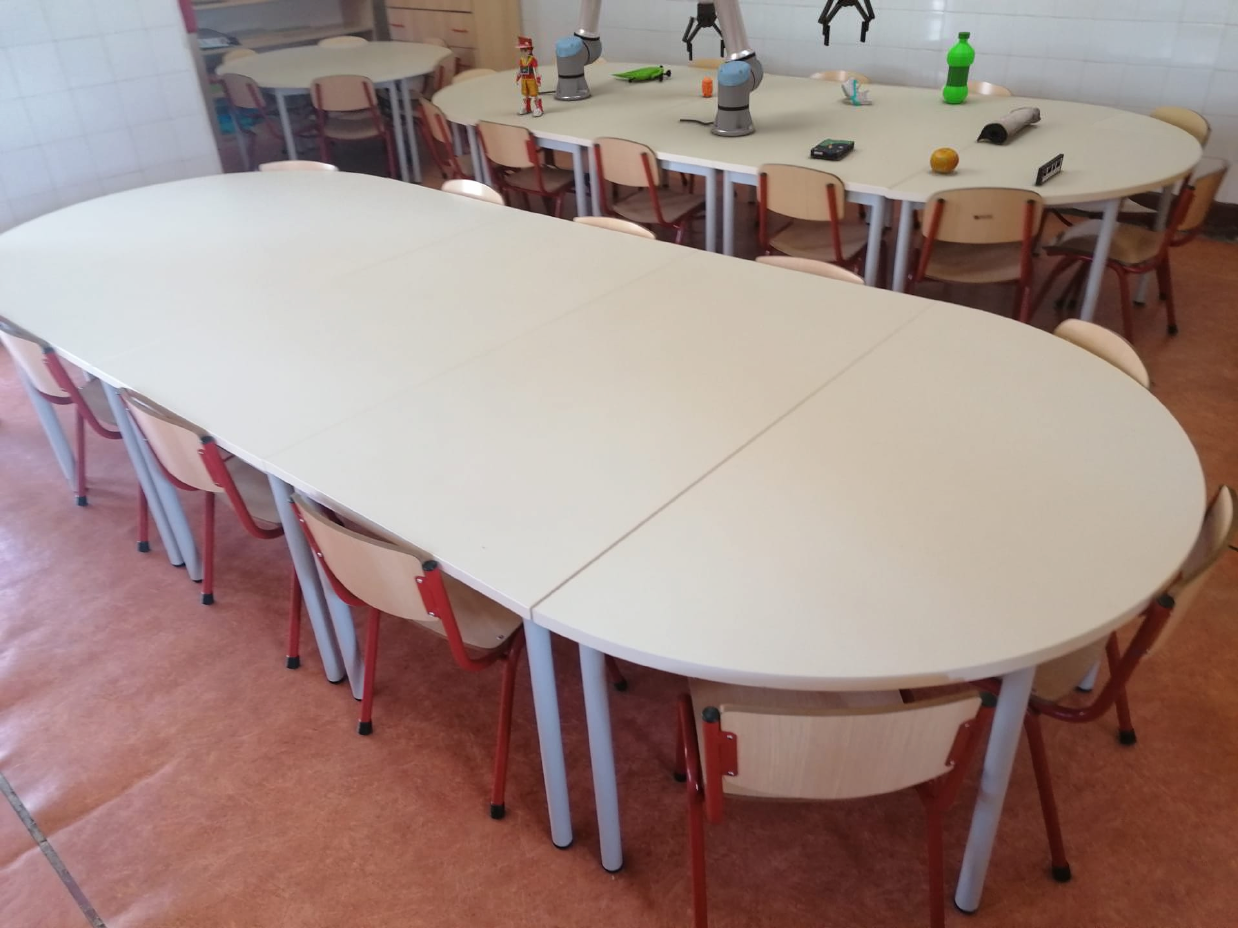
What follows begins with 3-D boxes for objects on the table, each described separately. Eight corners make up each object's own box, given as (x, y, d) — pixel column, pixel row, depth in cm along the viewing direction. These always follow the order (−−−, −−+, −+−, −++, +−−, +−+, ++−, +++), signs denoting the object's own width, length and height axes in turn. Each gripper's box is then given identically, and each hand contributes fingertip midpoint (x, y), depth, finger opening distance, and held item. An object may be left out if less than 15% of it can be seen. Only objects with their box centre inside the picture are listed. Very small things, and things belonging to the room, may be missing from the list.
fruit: (924, 163, 281) (941, 140, 278) (925, 165, 289) (941, 143, 286) (946, 178, 280) (963, 155, 277) (947, 180, 288) (963, 158, 285)
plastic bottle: (973, 101, 354) (984, 32, 339) (955, 106, 349) (966, 36, 335) (952, 97, 361) (962, 29, 346) (934, 102, 356) (944, 33, 342)
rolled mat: (1008, 112, 326) (1032, 94, 318) (1022, 133, 327) (1046, 116, 319) (972, 135, 309) (997, 117, 301) (987, 157, 310) (1012, 140, 301)
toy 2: (680, 71, 422) (628, 71, 438) (679, 59, 419) (627, 60, 435) (647, 89, 405) (595, 88, 421) (646, 77, 402) (593, 76, 418)
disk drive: (838, 161, 299) (854, 149, 309) (839, 153, 298) (855, 140, 308) (809, 158, 304) (825, 146, 314) (810, 149, 302) (826, 137, 313)
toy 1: (513, 115, 373) (504, 37, 356) (523, 110, 380) (514, 33, 363) (539, 117, 369) (531, 37, 352) (548, 111, 376) (541, 33, 359)
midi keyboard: (1039, 185, 269) (1043, 168, 266) (1035, 184, 270) (1038, 168, 267) (1060, 170, 279) (1064, 154, 277) (1056, 169, 280) (1060, 153, 277)
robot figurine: (714, 97, 382) (714, 77, 377) (704, 99, 381) (704, 78, 377) (710, 94, 387) (710, 74, 383) (700, 95, 387) (700, 75, 382)
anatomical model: (836, 76, 365) (861, 69, 364) (839, 102, 371) (863, 95, 370) (847, 84, 352) (872, 77, 352) (849, 111, 358) (874, 104, 358)
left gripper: (733, -2, 368) (732, 54, 380) (674, 4, 365) (675, 60, 377) (738, 0, 362) (737, 57, 374) (678, 6, 359) (679, 63, 371)
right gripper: (879, -28, 310) (873, 39, 322) (811, -22, 307) (807, 45, 319) (889, -26, 304) (882, 42, 316) (819, -20, 301) (814, 49, 313)
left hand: (706, 58), depth 375 cm, fingers open, 13 cm apart
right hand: (844, 44), depth 317 cm, fingers open, 13 cm apart
